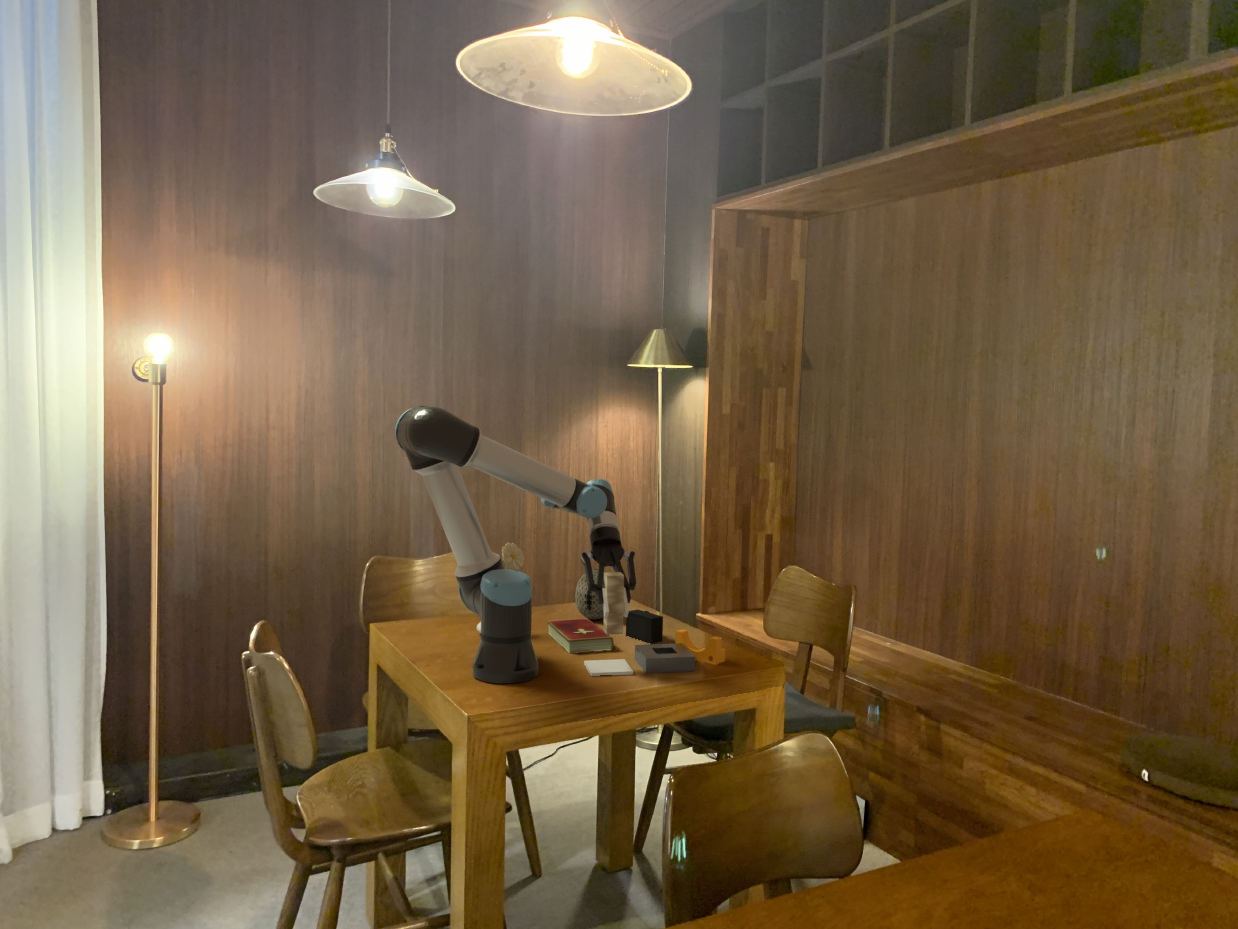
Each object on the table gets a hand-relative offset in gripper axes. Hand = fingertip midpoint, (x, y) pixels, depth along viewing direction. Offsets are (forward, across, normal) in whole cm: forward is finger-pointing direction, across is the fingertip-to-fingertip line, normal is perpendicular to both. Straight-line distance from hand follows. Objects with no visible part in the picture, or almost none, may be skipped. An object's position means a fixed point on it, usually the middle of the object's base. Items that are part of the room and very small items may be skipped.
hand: (616, 614), depth 209 cm
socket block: (+6, -13, -14) cm, 20 cm away
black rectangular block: (-11, -14, -31) cm, 36 cm away
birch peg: (+1, 0, -6) cm, 6 cm away
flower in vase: (-18, +24, -38) cm, 48 cm away
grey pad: (+8, +1, -12) cm, 15 cm away
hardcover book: (-10, +4, -31) cm, 33 cm away
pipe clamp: (+4, -23, -17) cm, 29 cm away
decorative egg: (-27, -4, -47) cm, 54 cm away
